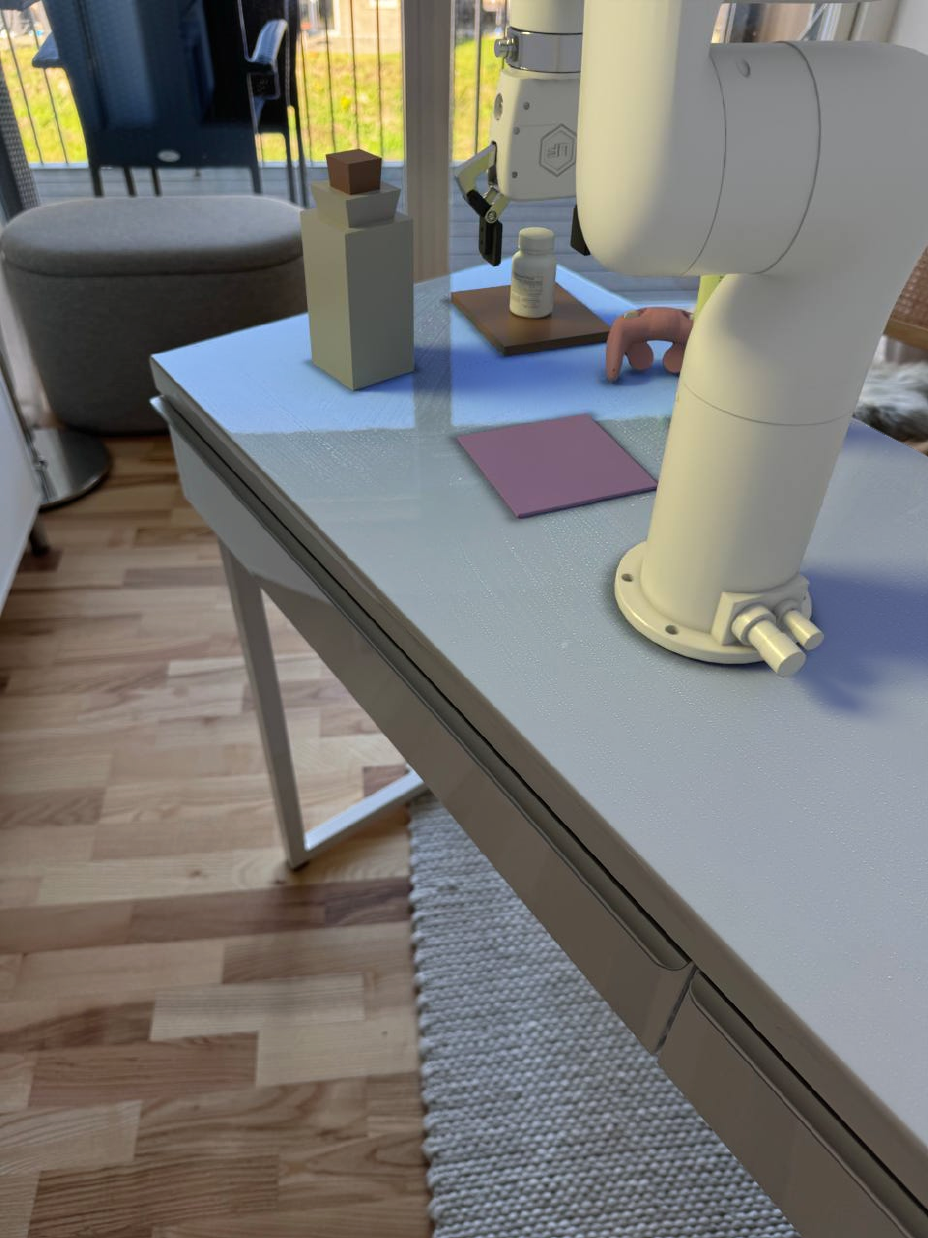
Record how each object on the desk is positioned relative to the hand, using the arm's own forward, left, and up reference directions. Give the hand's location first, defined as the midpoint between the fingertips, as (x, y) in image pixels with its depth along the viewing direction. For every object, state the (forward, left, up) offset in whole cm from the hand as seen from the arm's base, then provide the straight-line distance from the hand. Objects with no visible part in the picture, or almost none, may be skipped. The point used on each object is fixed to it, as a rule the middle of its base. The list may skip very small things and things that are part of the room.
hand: (536, 256), depth 90 cm
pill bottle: (0, 0, -6) cm, 6 cm away
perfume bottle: (-4, +19, -7) cm, 21 cm away
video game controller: (-15, -6, -7) cm, 17 cm away
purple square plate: (-26, +10, -7) cm, 28 cm away
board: (0, 0, -7) cm, 7 cm away
